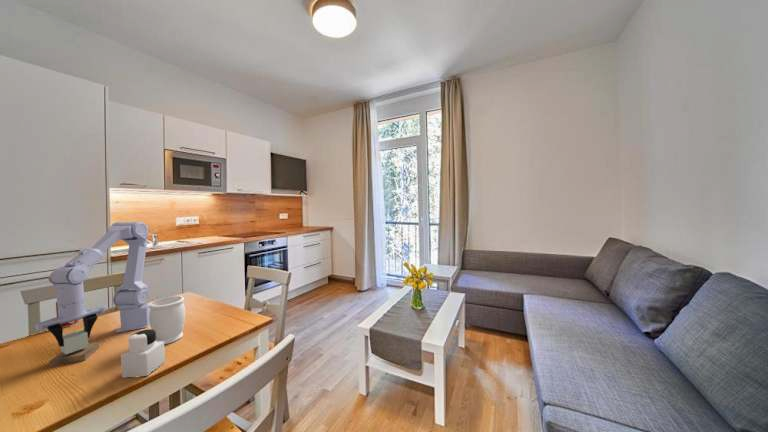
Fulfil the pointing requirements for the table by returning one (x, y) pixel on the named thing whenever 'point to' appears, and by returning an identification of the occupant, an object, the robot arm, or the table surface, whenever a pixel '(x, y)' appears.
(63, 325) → the soda can
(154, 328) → the jar
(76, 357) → the walnut plinth
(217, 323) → the table surface
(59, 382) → the table surface
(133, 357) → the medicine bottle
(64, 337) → the painted cube
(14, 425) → the table surface
